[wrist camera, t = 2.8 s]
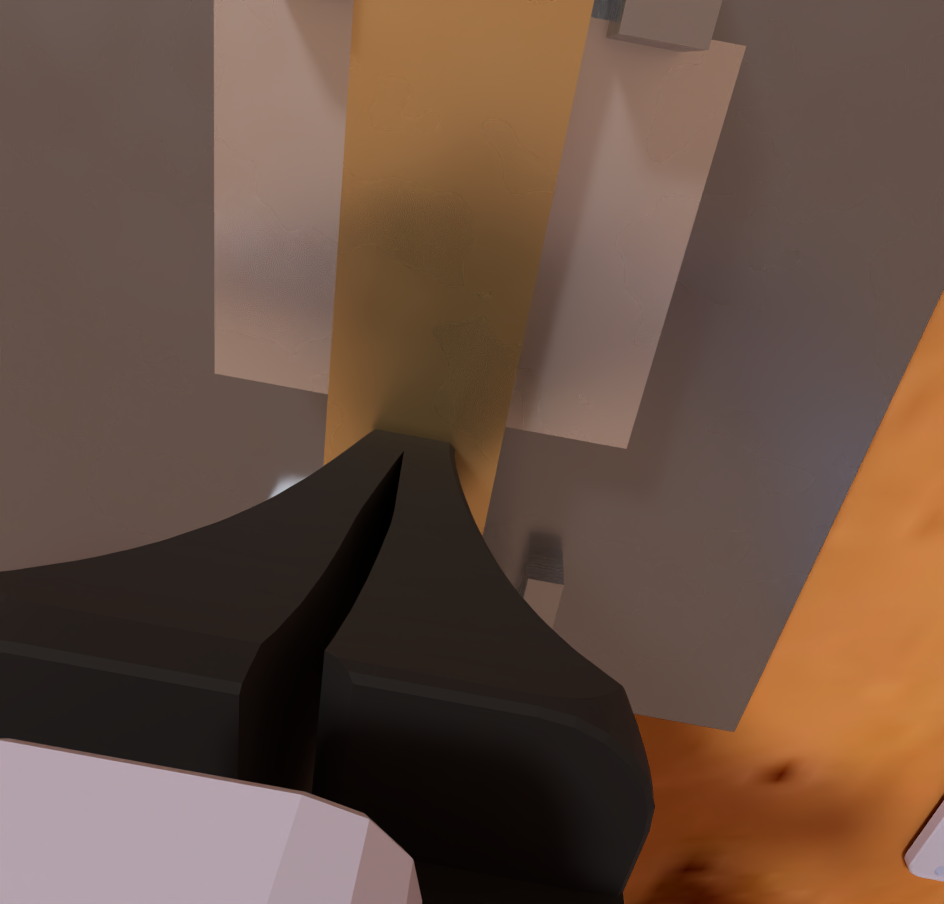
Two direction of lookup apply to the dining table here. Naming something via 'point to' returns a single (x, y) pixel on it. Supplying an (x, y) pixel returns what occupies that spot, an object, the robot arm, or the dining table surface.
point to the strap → (446, 216)
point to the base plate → (618, 512)
